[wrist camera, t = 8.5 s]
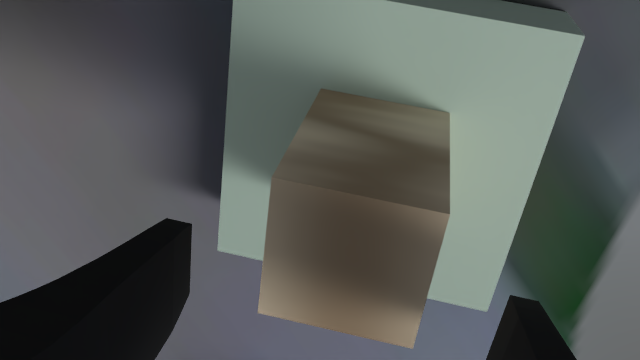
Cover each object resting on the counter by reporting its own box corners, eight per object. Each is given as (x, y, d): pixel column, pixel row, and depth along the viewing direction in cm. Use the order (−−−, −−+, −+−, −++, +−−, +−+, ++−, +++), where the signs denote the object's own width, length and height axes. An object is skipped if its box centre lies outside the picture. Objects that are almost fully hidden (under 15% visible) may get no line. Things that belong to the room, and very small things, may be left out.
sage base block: (241, 209, 25) (217, 250, 22) (262, -42, 20) (234, -27, 18) (482, 262, 24) (487, 311, 21) (566, 11, 19) (584, 36, 17)
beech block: (305, 198, 21) (257, 313, 15) (320, 88, 19) (271, 177, 13) (422, 222, 20) (412, 348, 15) (449, 112, 18) (450, 214, 13)
